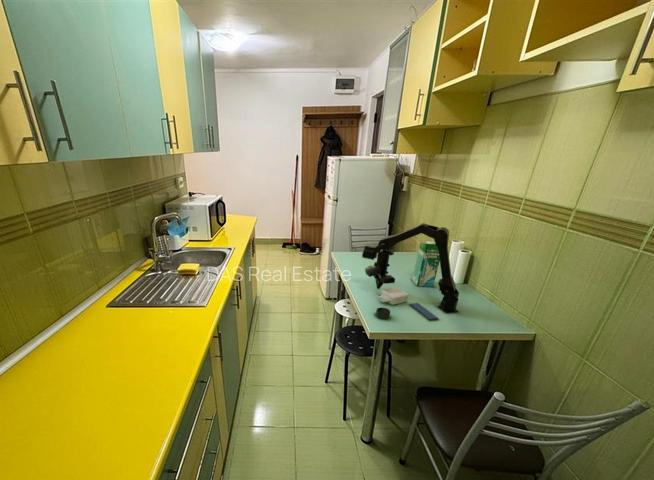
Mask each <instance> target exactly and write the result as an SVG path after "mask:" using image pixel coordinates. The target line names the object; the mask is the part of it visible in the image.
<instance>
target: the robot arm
mask: <svg viewBox="0 0 654 480" xmlns="http://www.w3.org/2000/svg"><path fill="white" fill-rule="evenodd" d="M421 234H422V235H425V236H427V237H429V238H431V239H433V240H434V241H433V242H434V244H436V246H437V248H438V251H439V259H440V262H439V265H440V272H441V278H439V280H438V282H437V284H438V287H439V289H438V291H439V292H440V294H441V295H442V299H441V301H440V305H437V308H439V309H440V310H441V311H443V312H444V313H446V314H450V313H458V312H459V310H457V306H458V303H459V296H460V292H459V290H458V289H457V286H456V282H455V280H454V278H453V276H452V270H451V262H450V254H449V240H450V230H449V229H448V228H447V227H444V226H441V227H438V226H435V225H431V224H427V223H425V222H422V223H419V225H416V226H413V227H411V228H410V229H407V230H404V231H402V232H400V233H397V234H392V235H387V236H384V237H382V238H381V239H380V240H379V241H378V244H377V245H376V246H371V245H367V244H366V245H365V246H364V248H363V251H362V254H361V258H362V259H367V260H372V261H374V260H375V259H376V261H374V263H373V264H372V265H368V266H367V267H365V268H364V272H365V275H366V276H368V277H369V278H371V277H373V278H374V281H375V285H376V289H377V290H380V289H381V287H382V286H383V285H384V284H385V285H387V284H395V283H396V278H395V277H394V276H392V275H391V274H389V271H388V267H390V266H391V265H390V263H389V261H390V256H393V255H394V254H395V252H394V251H393V249H392V247H394V246H395V245H397V244H398V243H400V242H403V241H405V240H408V239H410V238H413V237H415V236H417V235H421Z"/></svg>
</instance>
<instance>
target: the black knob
mask: <svg viewBox="0 0 654 480" xmlns="http://www.w3.org/2000/svg"><path fill="white" fill-rule="evenodd" d="M375 316H376V317H377V318H378V319H380V320H384V321H385V320H388V319H390V317H391V310H390V309H389V308H387V307H377V308H376V311H375Z"/></svg>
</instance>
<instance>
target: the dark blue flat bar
mask: <svg viewBox="0 0 654 480" xmlns="http://www.w3.org/2000/svg"><path fill="white" fill-rule="evenodd" d="M409 306H410V307H411V308H413V309H414V310H415V311H417V313H419V314H420V315H422V316H423V317H424V318H426V320H428V321H438V320H439V317H437V316H436V315H435V314H433V313H432V312H431V311H429V310H428V309H427V308H425V307H423V305H421V304H420V303H418V302H416V303H409Z"/></svg>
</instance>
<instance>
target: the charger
mask: <svg viewBox="0 0 654 480" xmlns="http://www.w3.org/2000/svg"><path fill="white" fill-rule="evenodd" d="M408 298H409V294H408V293H407V292H405V291H403V290H402V289H400V288H397V287H393V288H388V289H384V290H381V292H380V295H378V296H377V298H376V300H378V301H379V302H381V303H388V304H389V305H391V306H394V305H399V304H403V303H407V302H408Z"/></svg>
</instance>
